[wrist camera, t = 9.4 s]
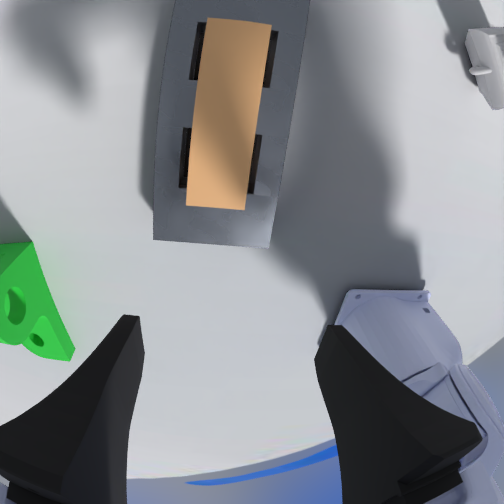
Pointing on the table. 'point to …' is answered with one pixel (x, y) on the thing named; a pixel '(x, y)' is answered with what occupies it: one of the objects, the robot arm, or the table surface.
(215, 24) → the tan wooden block
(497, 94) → the stamp
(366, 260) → the table surface
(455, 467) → the robot arm
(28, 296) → the mechanical part
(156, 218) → the grey flat block
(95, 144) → the table surface
